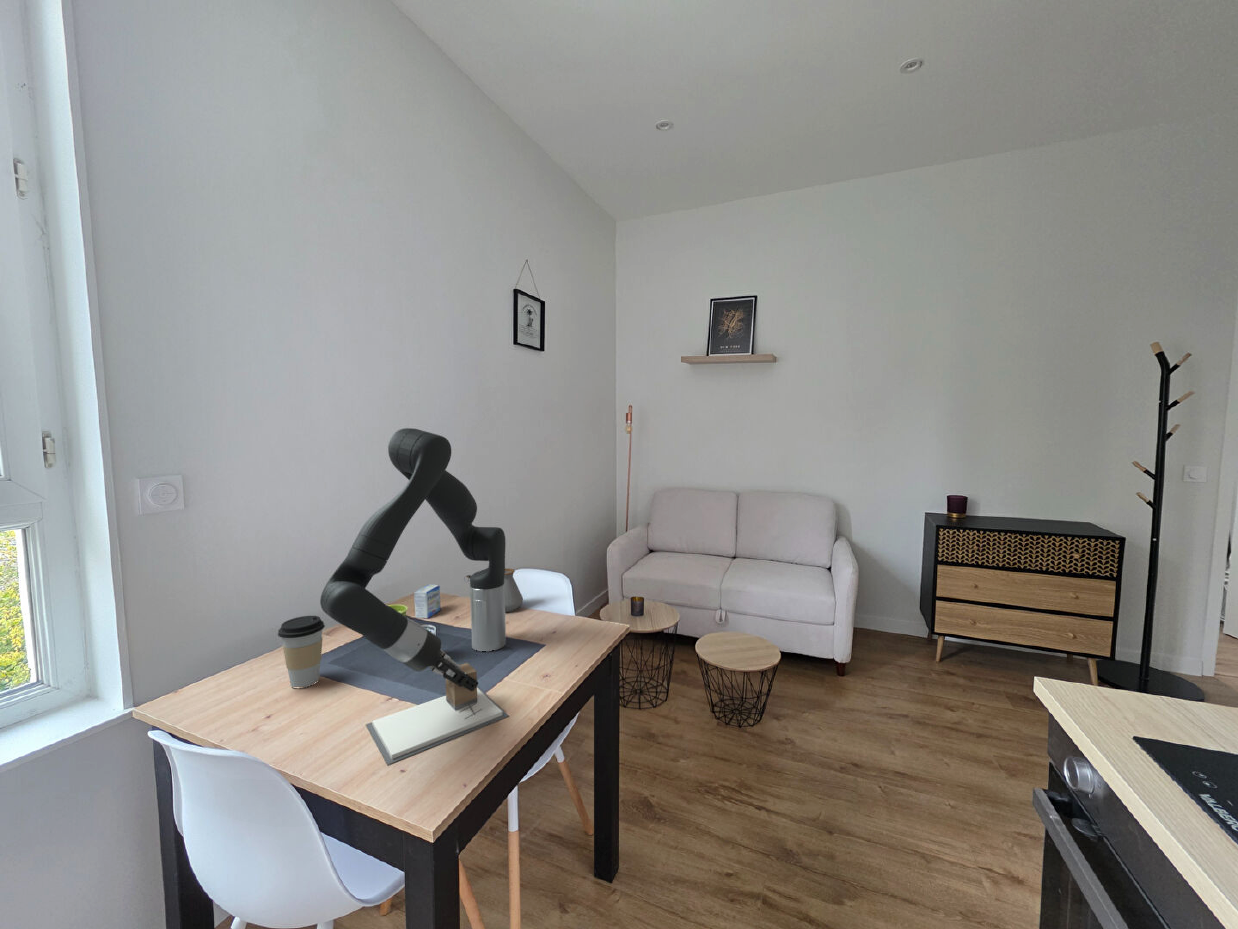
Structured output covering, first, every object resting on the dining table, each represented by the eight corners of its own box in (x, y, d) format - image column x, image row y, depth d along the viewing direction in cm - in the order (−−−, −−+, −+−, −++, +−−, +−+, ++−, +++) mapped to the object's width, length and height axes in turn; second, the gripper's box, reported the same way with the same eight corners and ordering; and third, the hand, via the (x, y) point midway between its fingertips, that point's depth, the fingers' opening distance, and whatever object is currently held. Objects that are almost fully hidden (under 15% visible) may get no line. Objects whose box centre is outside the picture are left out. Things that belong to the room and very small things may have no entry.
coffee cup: (336, 677, 123) (333, 617, 122) (297, 696, 114) (293, 632, 113) (311, 670, 127) (307, 612, 126) (271, 687, 118) (268, 625, 117)
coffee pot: (507, 600, 177) (506, 558, 176) (530, 607, 170) (529, 563, 169) (455, 619, 160) (454, 572, 159) (478, 627, 153) (476, 579, 152)
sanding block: (446, 700, 110) (445, 669, 110) (468, 693, 113) (467, 662, 113) (455, 710, 106) (453, 678, 106) (477, 702, 110) (476, 671, 109)
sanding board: (365, 725, 103) (365, 720, 103) (477, 686, 118) (477, 682, 118) (387, 765, 91) (387, 760, 91) (508, 716, 106) (508, 711, 106)
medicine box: (427, 619, 160) (426, 592, 160) (414, 618, 161) (413, 591, 161) (441, 610, 168) (440, 585, 167) (428, 609, 169) (428, 584, 168)
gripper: (436, 639, 98) (495, 678, 107) (413, 617, 109) (468, 655, 118) (409, 673, 95) (472, 711, 104) (388, 648, 106) (446, 684, 115)
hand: (469, 681), depth 111 cm, fingers closed on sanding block, 5 cm apart
